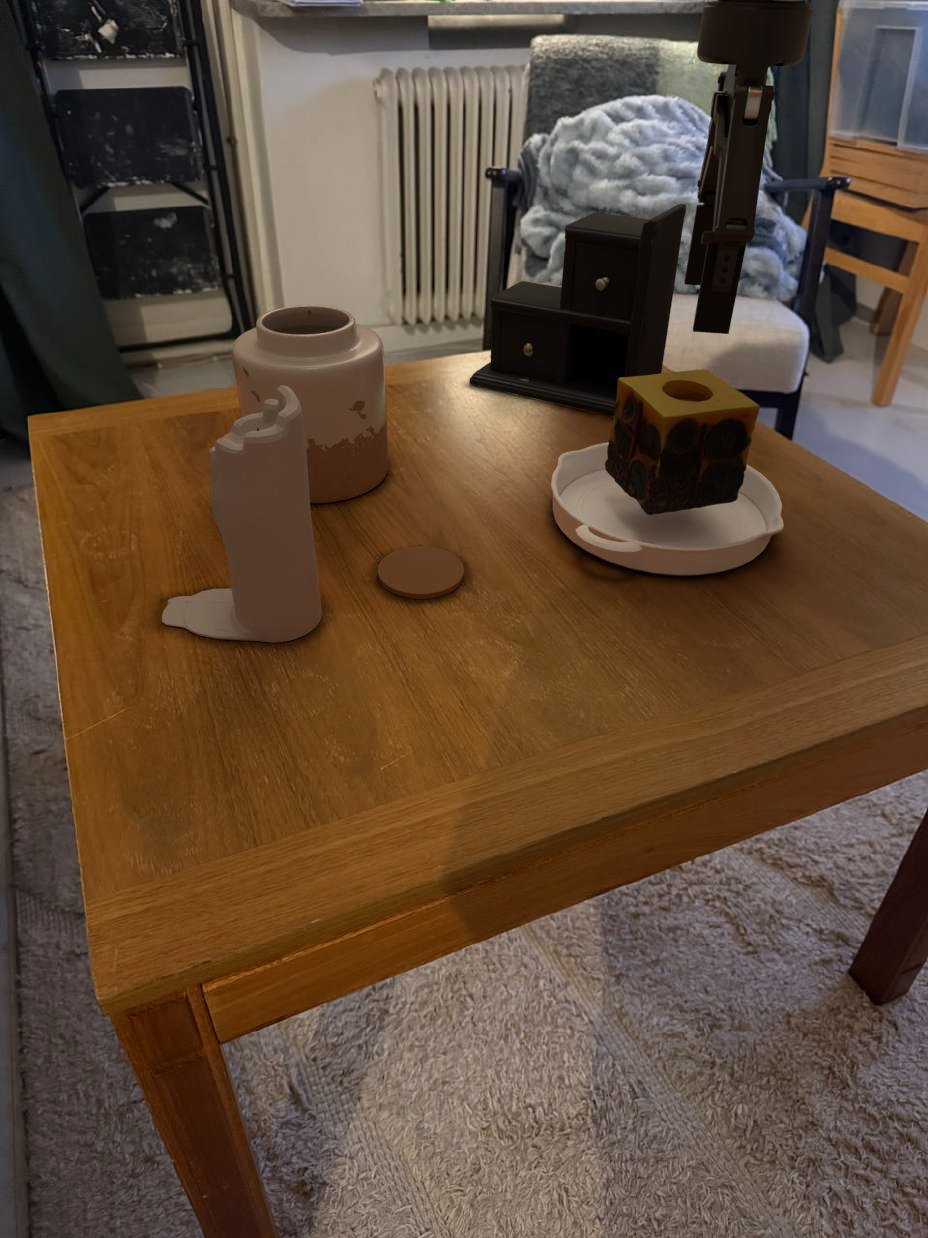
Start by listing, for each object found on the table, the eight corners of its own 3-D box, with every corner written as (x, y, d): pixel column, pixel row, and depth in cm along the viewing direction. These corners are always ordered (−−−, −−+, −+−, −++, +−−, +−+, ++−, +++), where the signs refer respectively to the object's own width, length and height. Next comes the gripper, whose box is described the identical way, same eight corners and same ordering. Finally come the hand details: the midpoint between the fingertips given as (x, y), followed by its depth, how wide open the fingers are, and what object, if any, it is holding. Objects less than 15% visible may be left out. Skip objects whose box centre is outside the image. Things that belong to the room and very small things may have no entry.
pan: (819, 507, 91) (829, 473, 89) (714, 629, 74) (724, 591, 72) (616, 443, 103) (620, 411, 101) (483, 535, 85) (485, 500, 83)
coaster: (470, 555, 83) (470, 550, 82) (456, 603, 76) (456, 598, 76) (388, 547, 83) (388, 541, 83) (368, 594, 77) (368, 588, 77)
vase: (224, 465, 96) (199, 314, 86) (339, 430, 104) (329, 287, 94) (295, 520, 87) (277, 358, 77) (416, 476, 95) (413, 324, 85)
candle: (646, 518, 81) (663, 418, 75) (600, 470, 89) (612, 376, 83) (740, 503, 84) (764, 406, 78) (688, 458, 91) (706, 366, 85)
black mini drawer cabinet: (467, 385, 116) (472, 194, 102) (504, 360, 124) (513, 180, 110) (630, 424, 107) (660, 221, 93) (659, 395, 115) (691, 203, 101)
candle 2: (175, 586, 77) (128, 370, 65) (329, 595, 77) (309, 378, 65) (147, 636, 72) (89, 408, 60) (312, 645, 71) (288, 417, 59)
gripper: (695, -6, 71) (656, 265, 83) (719, -4, 51) (664, 352, 63) (789, -4, 70) (735, 270, 82) (851, -1, 50) (768, 359, 63)
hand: (704, 306), depth 73 cm, fingers open, 13 cm apart
